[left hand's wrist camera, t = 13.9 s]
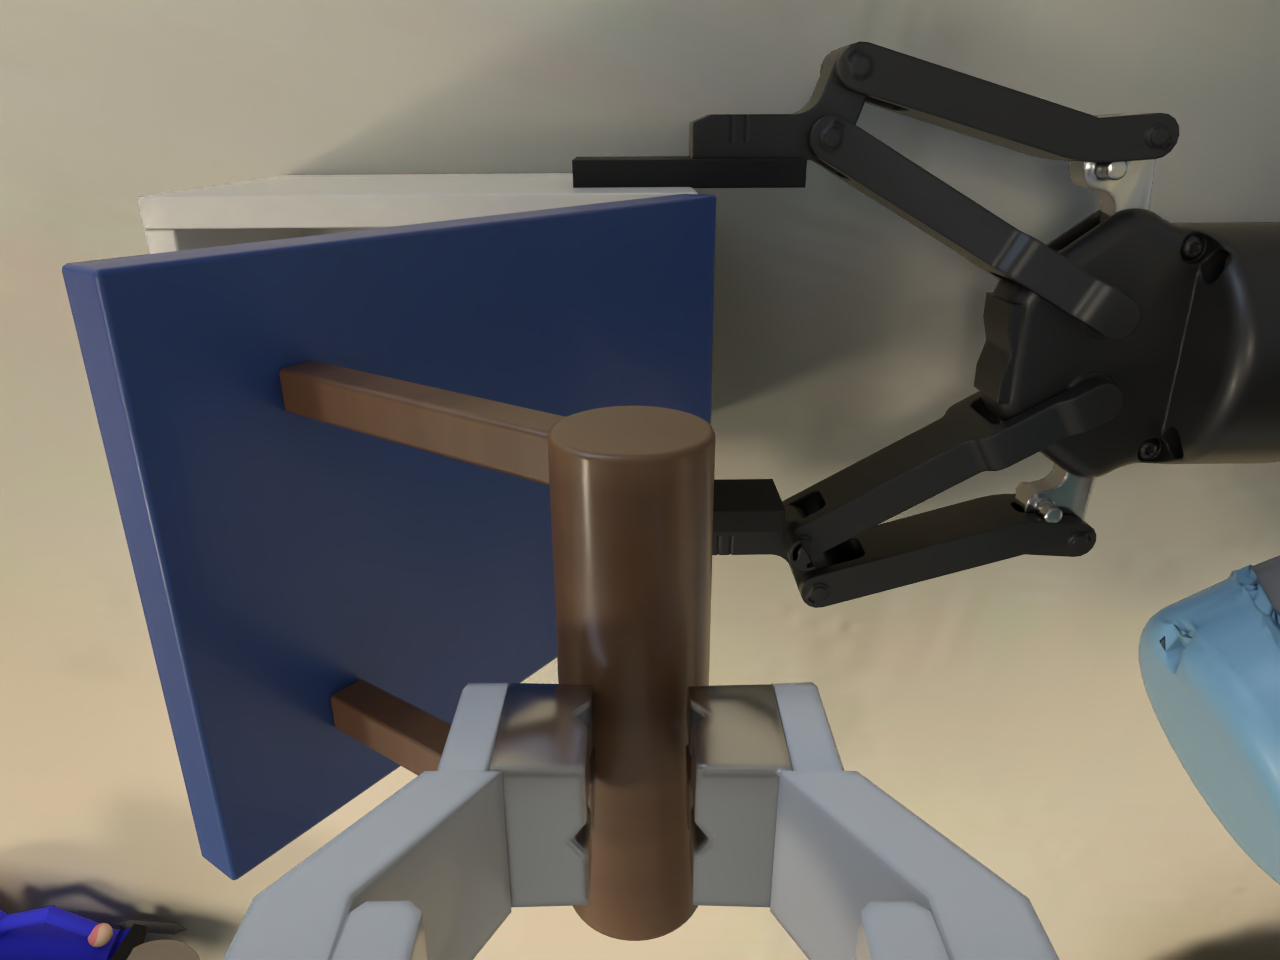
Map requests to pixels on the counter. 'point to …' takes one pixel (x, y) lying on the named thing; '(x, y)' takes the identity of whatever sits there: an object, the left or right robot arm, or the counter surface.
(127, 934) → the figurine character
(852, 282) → the counter surface
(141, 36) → the counter surface
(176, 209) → the chest
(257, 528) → the lid
